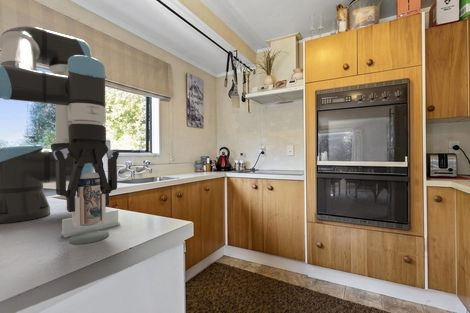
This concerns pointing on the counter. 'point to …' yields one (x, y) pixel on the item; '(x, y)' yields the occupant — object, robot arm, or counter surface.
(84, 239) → the coaster
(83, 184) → the beer can
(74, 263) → the counter surface
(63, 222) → the divider
